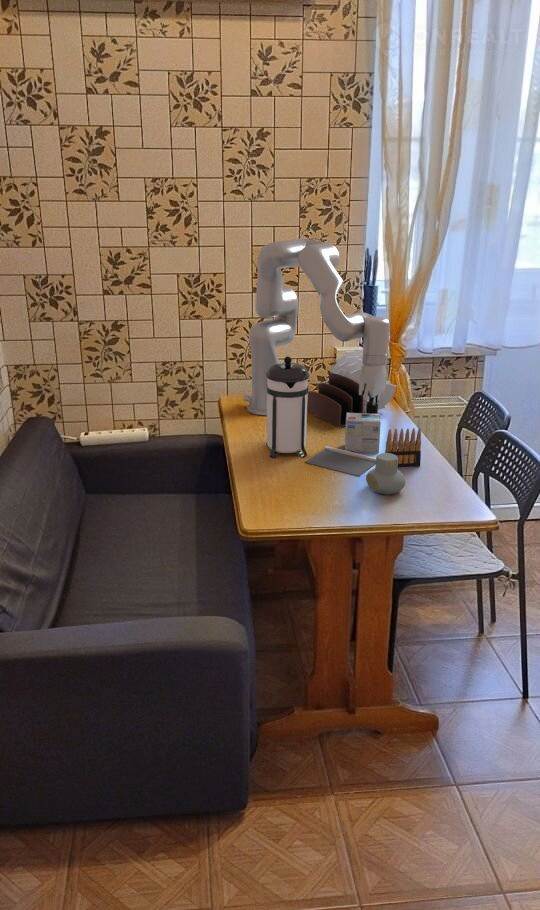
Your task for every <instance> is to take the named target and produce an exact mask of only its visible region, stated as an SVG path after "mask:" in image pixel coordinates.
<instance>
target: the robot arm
mask: <svg viewBox="0 0 540 910" xmlns="http://www.w3.org/2000/svg"><path fill="white" fill-rule="evenodd" d="M256 261H257V262H256V264H257V265H256V268H257V282H256V290H255V292H256V293H255V294H256V296H255V311H256V314H257V315H258V316H259V318H261V319H267V320H263V321H259V322H256V323H255V324H253V325H252V327H250V329H249V332H248V341H249V346H250V354H251V356H250V357H251V394H249V393H245V394H244V396H243V398H242V399H243V401H245V402H248V405H247V407H246V408H247V412H249V413H250V414H253V415H257V416H267V392H266V386H267V377H266V372H267V371H268V369H269V368H270V367H271V366H272V365H274V364H277V363H280V360H279V356H278V354H277V352H276V348H278V347H282V346H285V345H288V344H290V343H291V342H292V341H293V340H294V338H295V335H296V331H297V323H298V313H299V299H298V296H297V293H296V292H295V290H294V289H293V288H292V287H289V286H284V276H283V275H284V274H283V272H282V270H281V269H287V268H294V267H295V268H296V267H300V268H301V270H302V272H303V273H304V275H305V276H306V278H307V279H308V281H309V282H310V283H311V286H313V288H314V290H315V291H316V293H317V294H318V296H319V310H320V315H321V319H322V321H323V323H324V324H325V326H326V328H327V329H328V331H329V332H330V333H331V334H332V335H333V336H334V338H335V339H337V340H338V341H341V342H349V341H353V340H356V339H357V340H358V339H362V338H363V341H362V342H363V345H362V353H363V358H362V363H363V365H362V369H361V375H360V383H359V395H360V396H362V395H364V399H363V401H365V402H366V404H367V405H366V411H365V413H369V414H379V413H378V412H379V410H378V404H377V403H379V396H380V395H381V393H382V392H383V391H384V390H385V386H386V381H387V377H386V372H387V365H388V355H389V342H390V341H389V339H390V327H391V326H390V321H389V319H388V318H386V317H382V316H374V315H372V314H369V313H367V312H362V311H361V312H357V313H350V314H347V315H345V314H344V312H343V311H342V310H341V308H340V306H339V304H338V301H337V294H338V293H339V292H340V291H341V290H342V288H343V286H344V279H343V278H342V277H341V276H340V274H339V273H338V271H337V270H336V267H338V265H339V262H340V252H339V251H338V249H337V248H336V246H334V245H333V244H332V243H329V242H325V241H319V240H314V239H307V238H296V239H289V240H287V239H286V240H277V241H272V242H270V243H267V244H265V245H263V246H262V247H261V248H260V250H259V252H258V254H257V260H256Z"/></svg>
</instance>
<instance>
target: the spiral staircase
mask: <svg viewBox="0 0 540 910" xmlns="http://www.w3.org/2000/svg"><path fill="white" fill-rule="evenodd" d="M362 358H363V351H360V350H359V349H358V348H357V349H356V350H355V351H344V355H341V356H339V357H338V358H336V359H335V361H336V363H335V364H334V366H333V367H332V368H331V370H330V373H335V374H339V375H342V376H345V377H347V378H350V379H352V380H354V381H355V382H357V383H358V384H359V383H360V375H361V369H362V365H363V363H362ZM388 377H389V375H388V373H387V371H386V378H388ZM397 387H398V386H397V385H395V384H392V383H391V381H389V380H386V386H385V390H384V391H383V392H382V393H381V395H380V396H379V403H377V404H378V411H380V410H382V409H385V408H386V406H387V405H388V404H389V403H391V401H392V400H393V399H394V395H395V391H396V389H397ZM363 399H364V395H363ZM366 405H367V404H366V402H365V401H363V412H366Z"/></svg>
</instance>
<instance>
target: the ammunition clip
mask: <svg viewBox="0 0 540 910" xmlns="http://www.w3.org/2000/svg"><path fill="white" fill-rule="evenodd" d="M410 433H411V434H410ZM404 434H405V435H404ZM398 435H399V437H398ZM392 436H393V438H392ZM385 443H386V444H385V450H384V453H391V454H394V455H396V456H397V457H398V468H397V469H399V468H419V467H421V460H422V459H421V458H422V457H421V456H422V450H421V448H422V430H421V427H418V429H417V432H416V429H415V427H413V428H412V429H411V432H410V428H409V427H407V429H406V431H405V433H404V428H401V429H400V431H399V434H398V428H395V429H394V432H393V434H392V430H391V428H389V429H388V432H387V439H386V442H385Z"/></svg>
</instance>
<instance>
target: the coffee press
mask: <svg viewBox="0 0 540 910" xmlns="http://www.w3.org/2000/svg"><path fill="white" fill-rule="evenodd" d="M292 361H293V359H292V358H291V357H290V356H285V357H284V359H283V362H279V363H277V364H274V365H272V366H271V367H270V368H269V369H268V371H267V372H266V377H267V386H266V392H267V415H266V443H265V444H266V447H268V448H269V449H270V453H269V458H272V459H275V458H276V457H277V455H278V454H279V453H280V454H281V453H283V454H292V453H297V454H299V455H300V457H301V458H305V457H307V455H308V453H307V451H306V449H305V447H306V442H307V421H308V420H307V418H308V417H307V416H308V412H307V401H308V392H309V383H308V382H309V377H310V373H309V372H308V370H307V368H306V367H305V366H304V365H302V364H300V363H297V362H292Z"/></svg>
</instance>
